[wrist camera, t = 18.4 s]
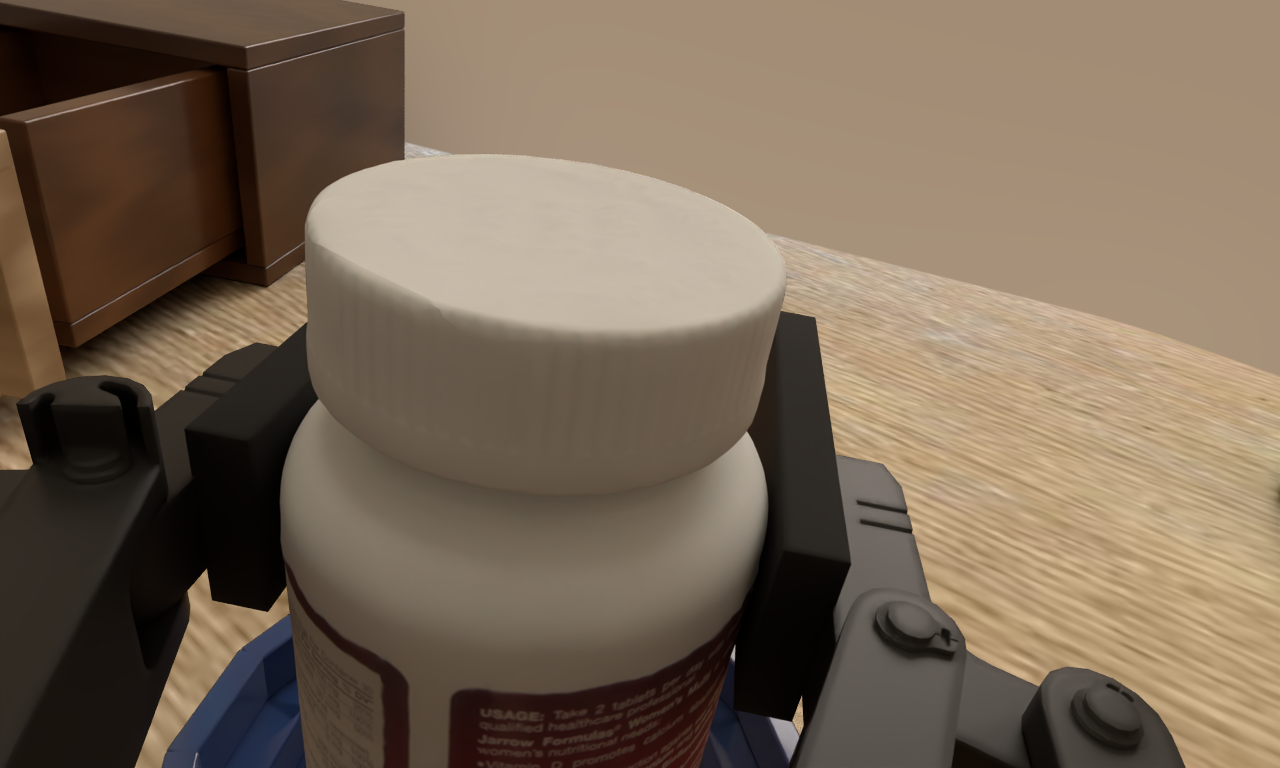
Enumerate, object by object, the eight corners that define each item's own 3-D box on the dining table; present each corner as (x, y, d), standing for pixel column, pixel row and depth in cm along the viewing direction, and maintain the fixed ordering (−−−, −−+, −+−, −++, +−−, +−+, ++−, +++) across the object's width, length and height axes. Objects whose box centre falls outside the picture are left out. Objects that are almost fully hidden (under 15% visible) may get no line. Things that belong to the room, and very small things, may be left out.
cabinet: (267, 286, 32) (245, 46, 28) (-7, 234, 33) (-73, -12, 28) (405, 187, 45) (405, 11, 40) (205, 150, 45) (184, -29, 41)
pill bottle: (703, 743, 16) (862, 211, 11) (603, 1105, 11) (807, 446, 6) (433, 642, 18) (448, 113, 12) (228, 929, 12) (82, 234, 7)
